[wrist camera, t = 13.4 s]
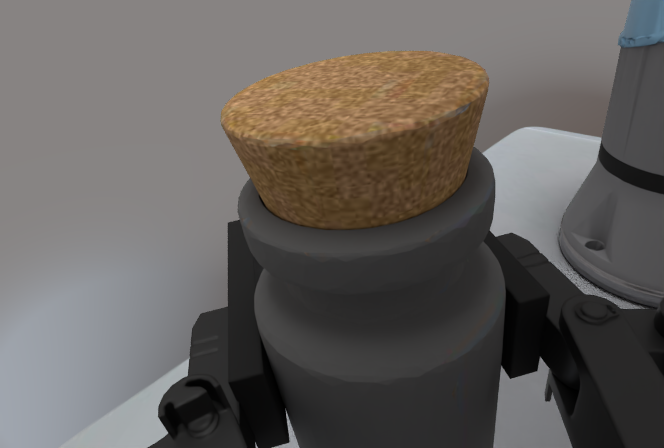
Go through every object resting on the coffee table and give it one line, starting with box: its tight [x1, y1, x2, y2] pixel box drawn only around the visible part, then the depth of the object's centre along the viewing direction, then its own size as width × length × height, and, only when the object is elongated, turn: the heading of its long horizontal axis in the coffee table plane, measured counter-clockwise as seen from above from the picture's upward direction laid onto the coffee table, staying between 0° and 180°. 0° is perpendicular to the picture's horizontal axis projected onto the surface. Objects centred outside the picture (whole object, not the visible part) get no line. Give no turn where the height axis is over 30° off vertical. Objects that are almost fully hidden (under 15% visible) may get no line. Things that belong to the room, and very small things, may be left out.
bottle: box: [221, 51, 506, 448], centre depth 12 cm, size 6×6×15 cm
